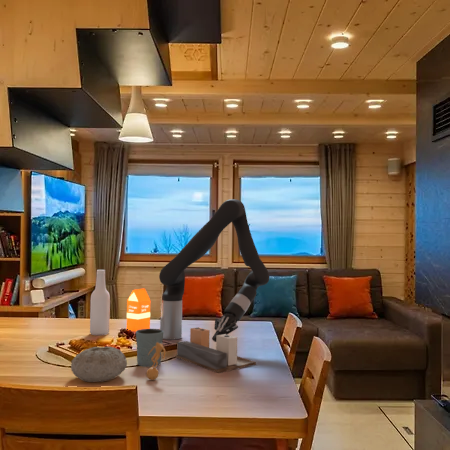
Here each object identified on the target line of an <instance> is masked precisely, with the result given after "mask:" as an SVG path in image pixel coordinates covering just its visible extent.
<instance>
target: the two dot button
mask: <svg viewBox="0 0 450 450" xmlns="http://www.w3.org/2000/svg"><path fill="white" fill-rule="evenodd" d="M189 330H190V331H189V332H190V334H189V337H190V338H189V342H192V343H195V344H199V345H202V346H205V347H208V348H210V332H211V331H210V330H209V329H207V328H206V329H205V328H203V327H200V326H199V327H193V328H191V327H190V328H189Z"/></svg>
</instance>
